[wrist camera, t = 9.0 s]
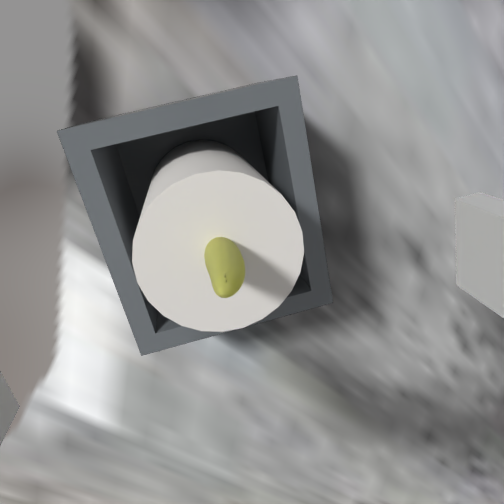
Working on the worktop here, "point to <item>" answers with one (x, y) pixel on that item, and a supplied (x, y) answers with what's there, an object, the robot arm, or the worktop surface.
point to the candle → (215, 240)
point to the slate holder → (162, 142)
